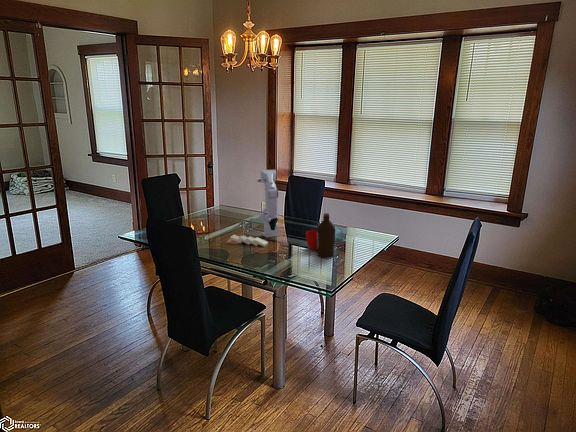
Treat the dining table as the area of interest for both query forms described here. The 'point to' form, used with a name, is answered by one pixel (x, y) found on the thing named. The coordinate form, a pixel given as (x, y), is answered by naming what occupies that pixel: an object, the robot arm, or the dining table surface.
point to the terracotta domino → (232, 242)
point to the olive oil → (325, 238)
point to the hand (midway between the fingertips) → (272, 230)
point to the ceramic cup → (312, 239)
